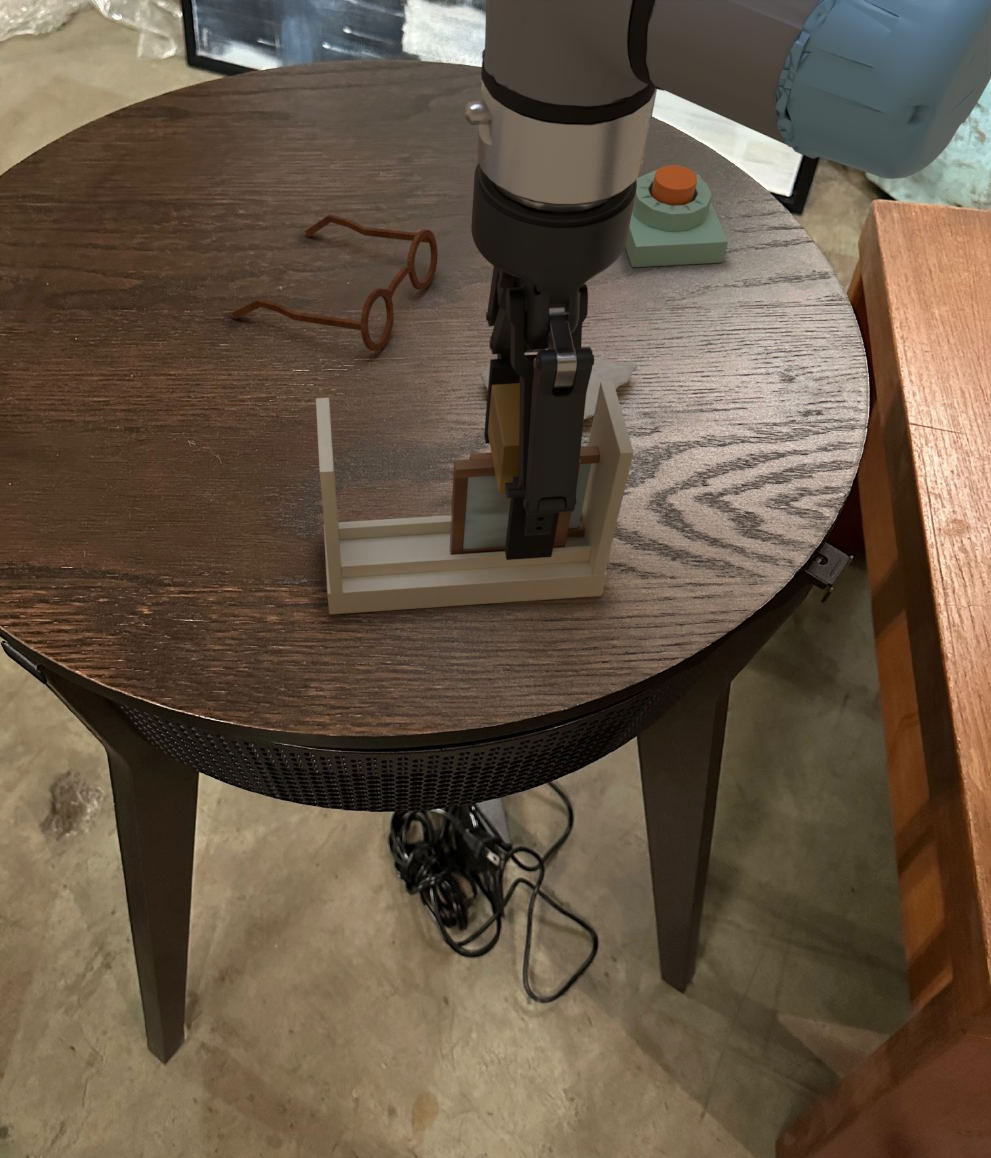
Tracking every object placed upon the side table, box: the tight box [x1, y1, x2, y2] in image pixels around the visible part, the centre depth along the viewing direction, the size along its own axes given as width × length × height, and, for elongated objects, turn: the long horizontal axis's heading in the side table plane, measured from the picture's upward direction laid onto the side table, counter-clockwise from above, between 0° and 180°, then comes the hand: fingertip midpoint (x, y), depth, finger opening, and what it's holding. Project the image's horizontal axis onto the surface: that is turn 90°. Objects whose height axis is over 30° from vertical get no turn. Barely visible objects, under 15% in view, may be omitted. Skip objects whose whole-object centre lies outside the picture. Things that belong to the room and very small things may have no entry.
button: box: [651, 164, 697, 206], centre depth 95 cm, size 4×4×2 cm
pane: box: [449, 383, 581, 555], centre depth 68 cm, size 8×5×13 cm, turn 95°
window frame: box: [315, 381, 635, 615], centre depth 70 cm, size 18×6×14 cm, turn 95°
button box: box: [624, 169, 729, 268], centre depth 97 cm, size 8×10×4 cm
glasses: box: [231, 214, 439, 352], centre depth 91 cm, size 13×13×5 cm
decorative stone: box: [480, 359, 638, 421], centre depth 85 cm, size 8×12×3 cm
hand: (516, 493), depth 69 cm, fingers open, 9 cm apart
